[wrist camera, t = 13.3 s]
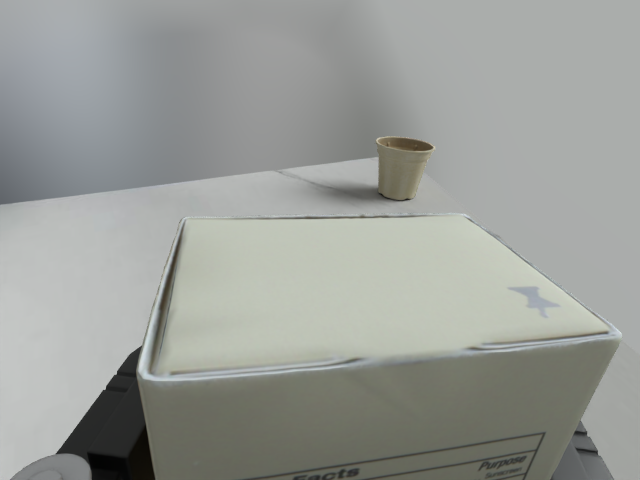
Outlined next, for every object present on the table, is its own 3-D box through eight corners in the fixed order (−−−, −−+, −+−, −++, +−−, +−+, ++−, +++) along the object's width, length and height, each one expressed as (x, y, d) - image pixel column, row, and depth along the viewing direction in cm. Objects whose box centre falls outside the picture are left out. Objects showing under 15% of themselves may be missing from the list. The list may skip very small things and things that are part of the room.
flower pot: (416, 185, 74) (425, 137, 70) (432, 205, 65) (443, 152, 62) (365, 183, 73) (371, 134, 69) (374, 203, 65) (382, 149, 61)
